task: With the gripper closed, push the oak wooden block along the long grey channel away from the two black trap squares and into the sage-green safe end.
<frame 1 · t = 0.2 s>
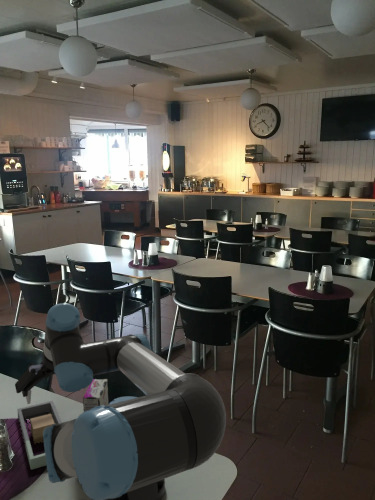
hand: (52, 392, 121), 16 cm above the table, tool tilted 35°, fingers open, 13 cm apart
oak block: (43, 436, 127), resting in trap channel
soda can: (87, 468, 114), on the table
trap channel: (43, 435, 127), on the table
candy bar box: (97, 439, 126), on the table
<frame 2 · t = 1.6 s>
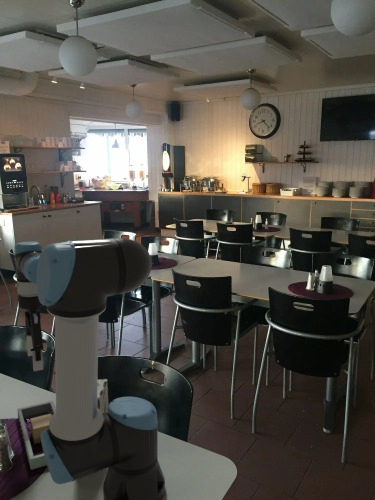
hand: (35, 362, 131), 20 cm above the table, tool pointing down, fingers open, 11 cm apart
nothing on the table moved.
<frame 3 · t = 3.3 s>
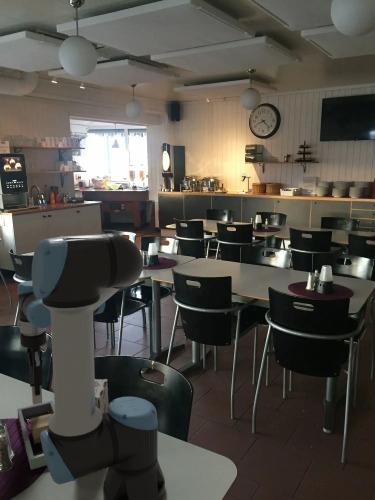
hand: (37, 402, 133), 7 cm above the table, tool pointing down, fingers closed
nothing on the table moved.
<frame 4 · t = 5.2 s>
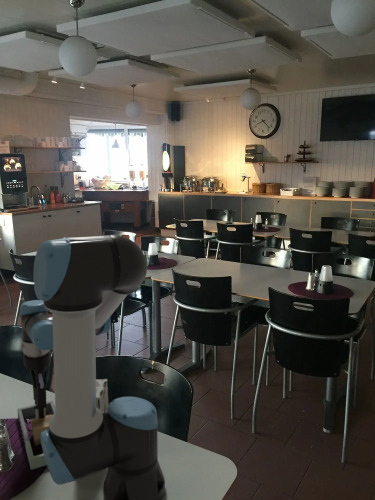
hand: (41, 425, 130), 2 cm above the table, tool pointing down, fingers closed
oak block: (43, 437, 127), resting in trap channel, touching gripper
everything else where it was.
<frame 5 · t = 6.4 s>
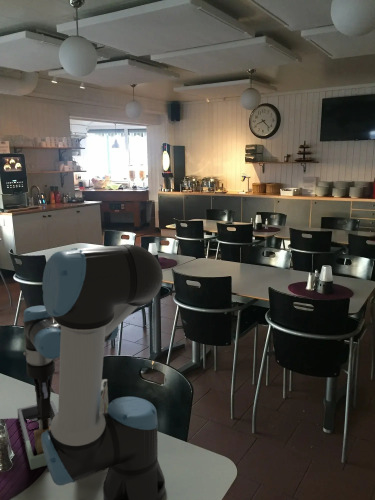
hand: (45, 436, 124), 2 cm above the table, tool pointing down, fingers closed
oak block: (47, 449, 121), resting in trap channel, touching gripper
everything else where it was.
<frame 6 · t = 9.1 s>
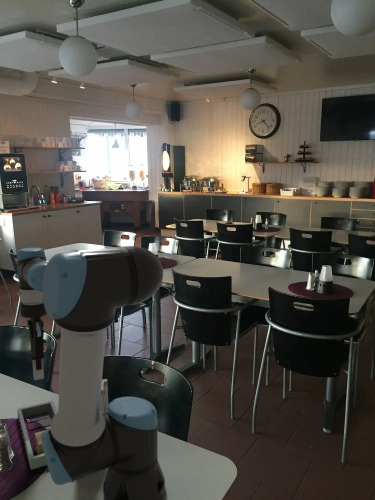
hand: (38, 378, 126), 18 cm above the table, tool pointing down, fingers closed
oak block: (48, 451, 120), resting in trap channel
everything else where it was.
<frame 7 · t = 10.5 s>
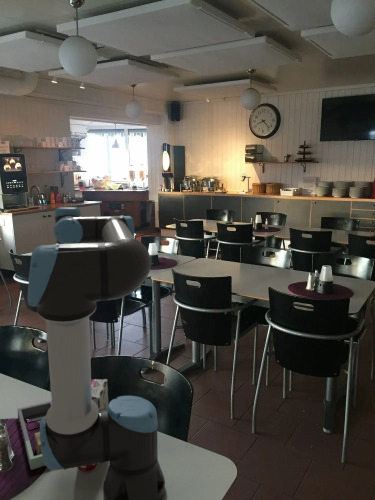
hand: (73, 330, 135), 28 cm above the table, tool pointing down, fingers closed
nothing on the table moved.
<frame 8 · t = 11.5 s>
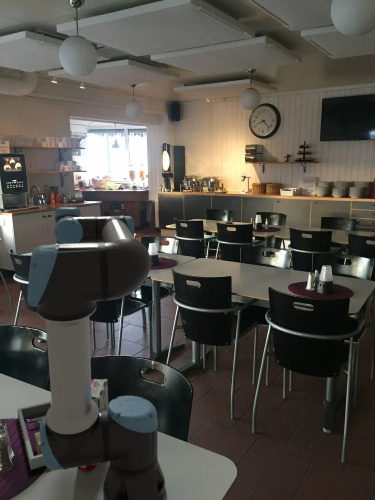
hand: (73, 330, 135), 28 cm above the table, tool pointing down, fingers closed
nothing on the table moved.
at the end: oak block inside the target area (0.1 cm from its centre), resting in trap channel; oak block moved 8.3 cm from its start; oak block tilted 0° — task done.
